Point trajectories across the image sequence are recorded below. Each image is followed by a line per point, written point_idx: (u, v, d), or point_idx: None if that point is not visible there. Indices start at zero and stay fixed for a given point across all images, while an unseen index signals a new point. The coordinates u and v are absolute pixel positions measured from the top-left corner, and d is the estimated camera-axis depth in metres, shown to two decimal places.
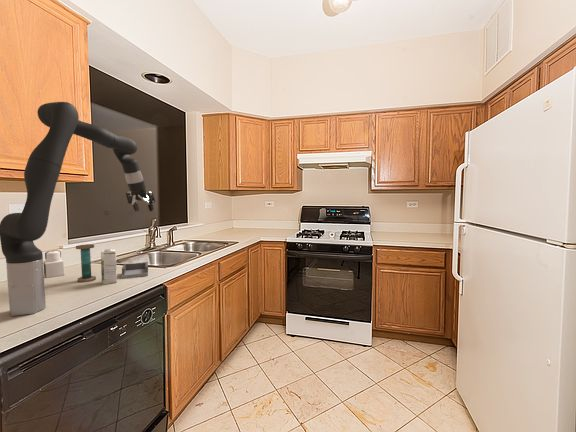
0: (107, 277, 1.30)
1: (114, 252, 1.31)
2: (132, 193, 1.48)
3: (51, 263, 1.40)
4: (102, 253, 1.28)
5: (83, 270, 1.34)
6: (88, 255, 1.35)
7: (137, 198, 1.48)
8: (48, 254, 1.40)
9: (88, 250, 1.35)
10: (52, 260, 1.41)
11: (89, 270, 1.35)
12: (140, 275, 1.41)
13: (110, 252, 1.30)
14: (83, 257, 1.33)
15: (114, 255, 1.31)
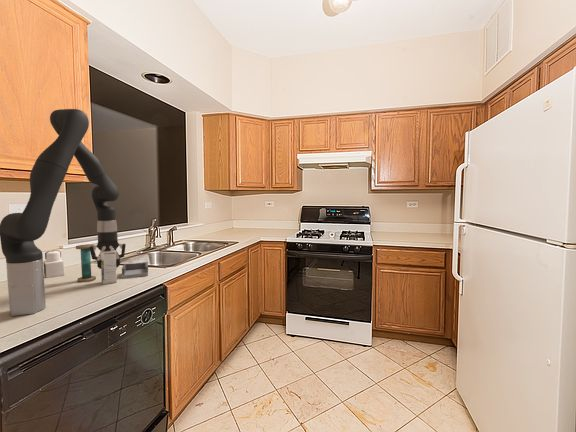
0: (107, 277, 1.30)
1: (114, 252, 1.31)
2: (99, 245, 1.29)
3: (51, 263, 1.40)
4: (102, 253, 1.28)
5: (83, 270, 1.34)
6: (88, 255, 1.35)
7: (106, 250, 1.31)
8: (48, 254, 1.40)
9: (88, 250, 1.35)
10: (52, 260, 1.41)
11: (89, 270, 1.35)
12: (140, 275, 1.41)
13: (110, 252, 1.30)
14: (83, 257, 1.33)
15: (114, 255, 1.31)
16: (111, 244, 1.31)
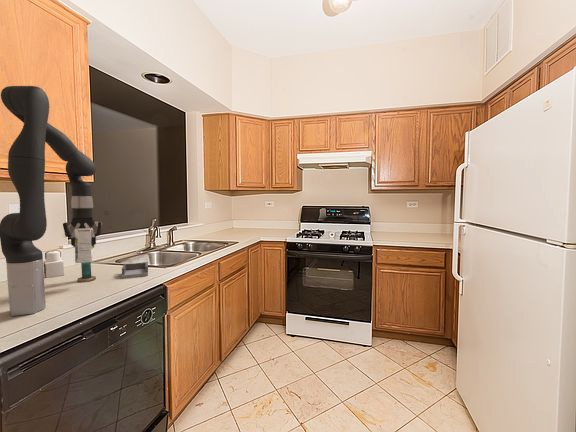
0: (81, 255, 1.24)
1: (89, 229, 1.25)
2: (74, 222, 1.23)
3: (51, 263, 1.40)
4: (76, 230, 1.22)
5: (83, 270, 1.34)
6: None
7: None
8: (48, 254, 1.40)
9: None
10: (52, 260, 1.41)
11: (89, 270, 1.35)
12: (140, 275, 1.41)
13: (85, 229, 1.24)
14: None
15: (89, 233, 1.25)
16: (86, 221, 1.25)
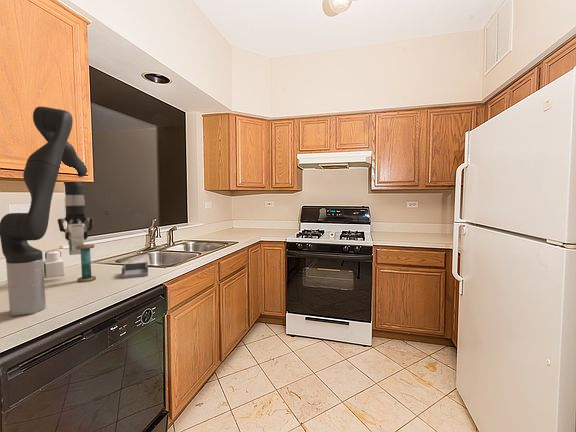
0: (75, 248, 1.38)
1: (81, 225, 1.39)
2: (67, 218, 1.37)
3: (51, 263, 1.40)
4: (69, 225, 1.36)
5: (83, 270, 1.34)
6: (88, 255, 1.35)
7: (74, 223, 1.39)
8: (48, 254, 1.40)
9: (88, 250, 1.35)
10: (52, 260, 1.41)
11: (89, 270, 1.35)
12: (140, 275, 1.41)
13: (77, 225, 1.38)
14: (83, 257, 1.33)
15: (81, 228, 1.39)
16: (79, 217, 1.39)
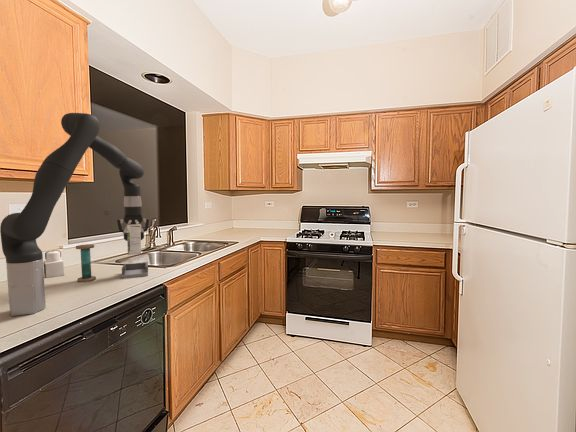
0: (133, 248, 1.41)
1: (139, 225, 1.42)
2: (126, 218, 1.41)
3: (51, 263, 1.40)
4: (128, 226, 1.40)
5: (83, 270, 1.34)
6: (88, 255, 1.35)
7: None
8: (48, 254, 1.40)
9: (88, 250, 1.35)
10: (52, 260, 1.41)
11: (89, 270, 1.35)
12: (140, 275, 1.41)
13: (135, 225, 1.41)
14: (83, 257, 1.33)
15: (139, 228, 1.42)
16: (136, 218, 1.43)
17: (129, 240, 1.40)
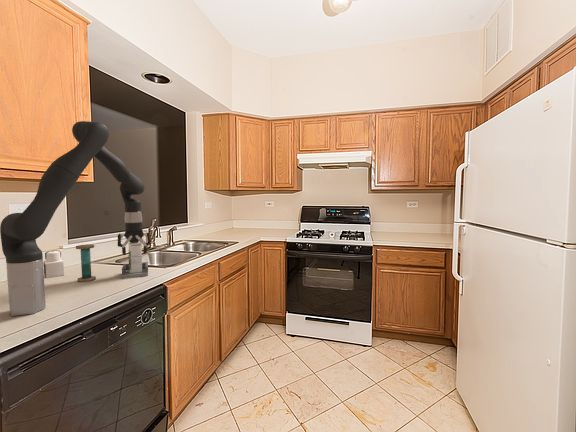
0: (134, 267, 1.42)
1: (140, 244, 1.43)
2: (127, 234, 1.42)
3: (51, 263, 1.40)
4: (129, 245, 1.41)
5: (83, 270, 1.34)
6: (88, 255, 1.35)
7: (132, 240, 1.43)
8: (48, 254, 1.40)
9: (88, 250, 1.35)
10: (52, 260, 1.41)
11: (89, 270, 1.35)
12: (140, 275, 1.41)
13: (137, 244, 1.42)
14: (83, 257, 1.33)
15: (140, 247, 1.43)
16: (137, 234, 1.43)
17: (130, 259, 1.41)
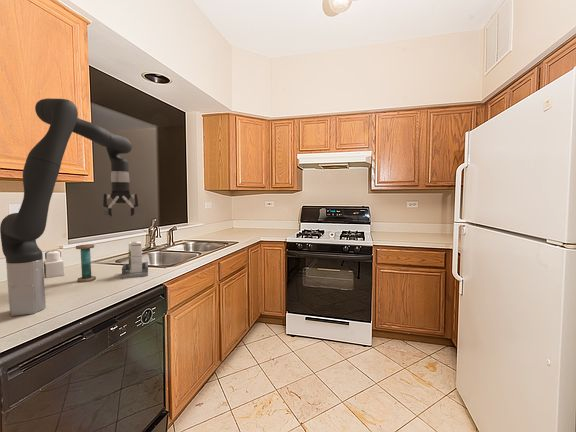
0: (134, 267, 1.42)
1: (140, 244, 1.43)
2: (113, 195, 1.36)
3: (51, 263, 1.40)
4: (129, 245, 1.41)
5: (83, 270, 1.34)
6: (88, 255, 1.35)
7: (118, 200, 1.38)
8: (48, 254, 1.40)
9: (88, 250, 1.35)
10: (52, 260, 1.41)
11: (89, 270, 1.35)
12: (140, 275, 1.41)
13: (137, 244, 1.42)
14: (83, 257, 1.33)
15: (140, 247, 1.43)
16: (124, 194, 1.38)
17: (130, 259, 1.41)
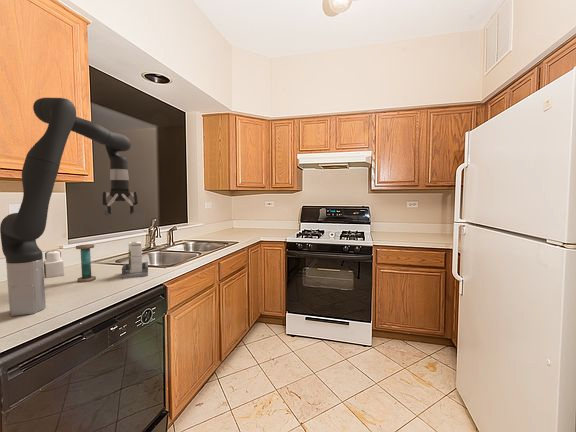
0: (134, 267, 1.42)
1: (140, 244, 1.43)
2: (112, 192, 1.36)
3: (51, 263, 1.40)
4: (129, 245, 1.41)
5: (83, 270, 1.34)
6: (88, 255, 1.35)
7: (118, 198, 1.37)
8: (48, 254, 1.40)
9: (88, 250, 1.35)
10: (52, 260, 1.41)
11: (89, 270, 1.35)
12: (140, 275, 1.41)
13: (137, 244, 1.42)
14: (83, 257, 1.33)
15: (140, 247, 1.43)
16: (123, 192, 1.38)
17: (130, 259, 1.41)
